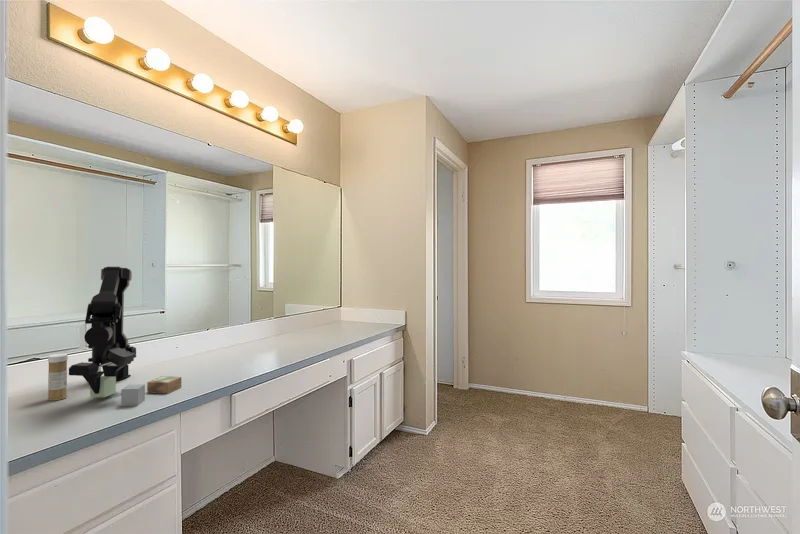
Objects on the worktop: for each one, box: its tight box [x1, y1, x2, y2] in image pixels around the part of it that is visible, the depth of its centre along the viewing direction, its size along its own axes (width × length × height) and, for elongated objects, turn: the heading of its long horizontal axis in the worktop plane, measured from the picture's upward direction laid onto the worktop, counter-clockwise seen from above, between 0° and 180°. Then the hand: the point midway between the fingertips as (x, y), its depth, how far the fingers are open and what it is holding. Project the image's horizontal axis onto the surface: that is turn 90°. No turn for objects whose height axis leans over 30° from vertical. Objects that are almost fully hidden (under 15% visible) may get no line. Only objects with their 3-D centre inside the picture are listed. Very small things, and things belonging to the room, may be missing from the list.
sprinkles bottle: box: [47, 353, 69, 401], centre depth 123 cm, size 5×5×14 cm
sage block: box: [89, 375, 117, 398], centre depth 124 cm, size 4×4×5 cm
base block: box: [146, 375, 182, 394], centre depth 134 cm, size 7×7×4 cm
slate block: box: [120, 383, 146, 407], centre depth 121 cm, size 4×4×5 cm
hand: (103, 391), depth 125 cm, fingers closed on sage block, 4 cm apart
